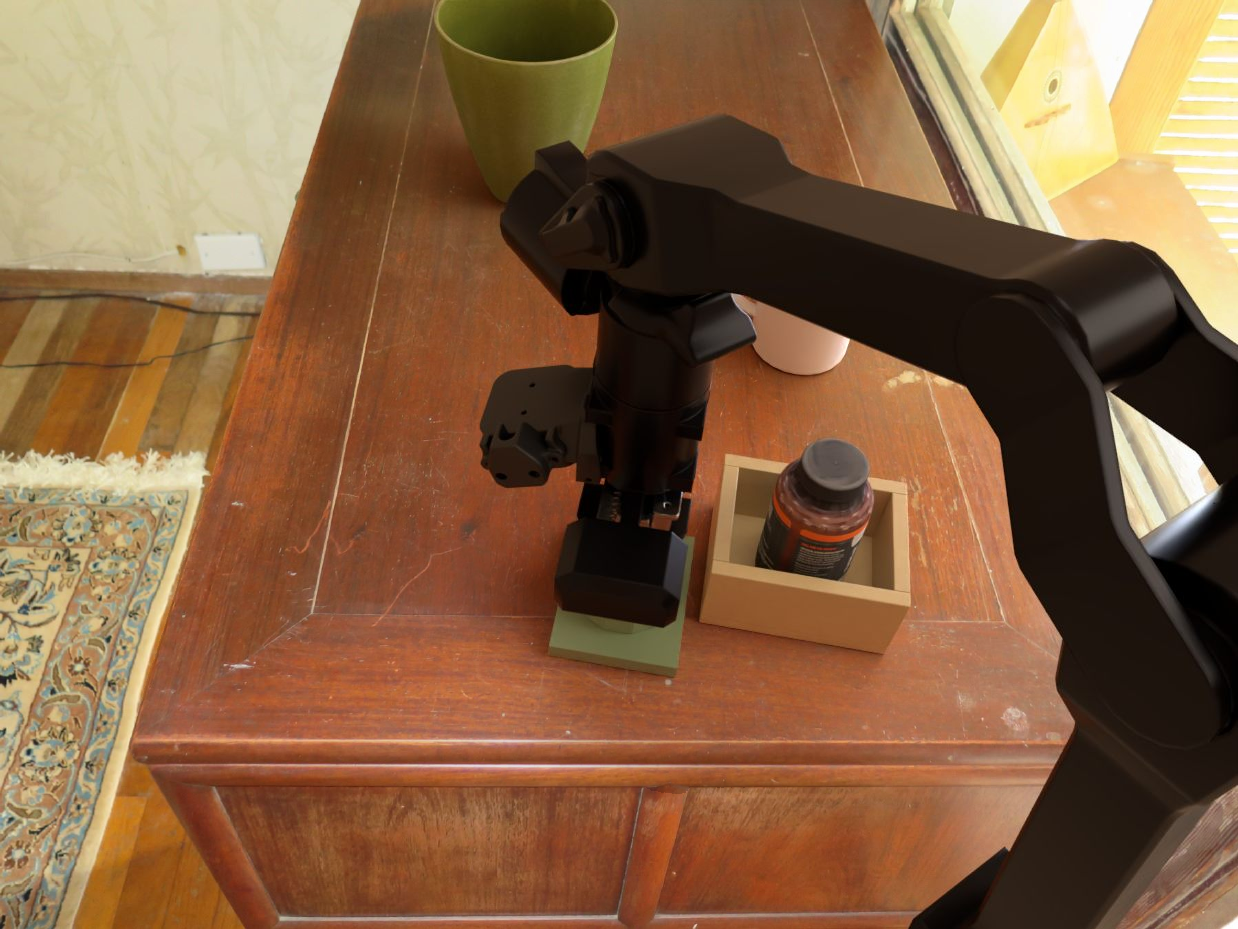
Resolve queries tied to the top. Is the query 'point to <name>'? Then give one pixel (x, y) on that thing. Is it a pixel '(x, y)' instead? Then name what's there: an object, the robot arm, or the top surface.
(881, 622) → the shallow tan tray box
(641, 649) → the control block
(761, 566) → the supplement bottle
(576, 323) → the top surface
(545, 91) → the flower pot
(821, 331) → the mug
